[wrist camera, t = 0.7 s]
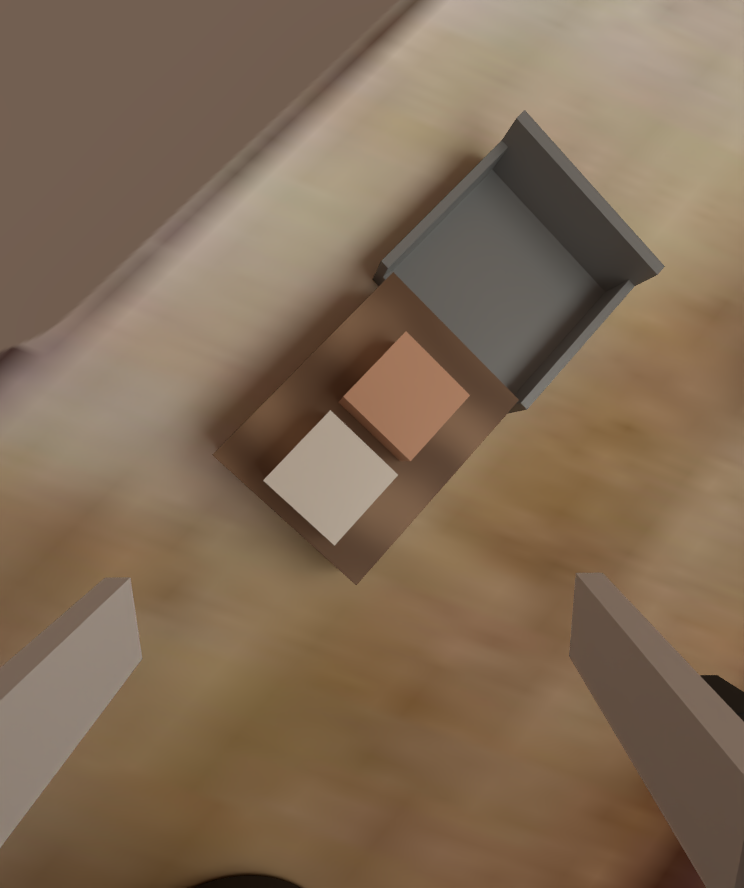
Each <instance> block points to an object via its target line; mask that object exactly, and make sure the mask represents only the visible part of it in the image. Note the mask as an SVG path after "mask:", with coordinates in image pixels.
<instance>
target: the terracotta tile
mask: <svg viewBox="0 0 744 888" xmlns="http://www.w3.org/2000/svg"><path fill="white" fill-rule="evenodd" d="M469 396H470V395H469V394H468V393H467V392H466V391H465V390H464V389H463V388H462V387H461V386H460V385H459V384H458V383H457V382H456V381H455V380H454V379H453V378H452V377H451V376H450V375H449V374H448V373H447V372H446V371H445V370H444V369H443V368H442V367H441V366H440V365H439V364H438V363H437V362H436V361H435V360H434V359H433V358H432V357H431V356H430V355H429V354H428V353H427V352H426V351H425V350H424V349H423V348H422V347H421V346H420V345H419V344H418V343H417V342H416V341H415V340H414V339H413V338H412V337H411V336H410V335H409V334H408V333H407V332H405V333H404V334H403V335H402V336H401V337H400V338H399V339H398V340H397V341H396V342H395V343H394V344H393V345H392V346H391V347H390V348H389V349H388V350H387V351H386V353H385V354H384V355H383V356H382V357H381V358H380V359H379V360H378V361H377V362H376V363H375V364H374V365H373V366H372V367H371V368H370V369H369V370H368V371H367V372H366V373H365V374H364V376H363V377H362V378H361V379H360V380H359V381H358V382H357V383H356V384H355V385H354V386H353V387H352V388H351V389H350V390H349V391H348V392H347V393H346V394H345V395H344V396H343V398H342V399H341V400H340V401H339V403H340V404H341V405H342V406H343V407H344V408H345V409H346V410H347V411H348V412H349V413H350V414H351V415H352V416H353V417H354V418H355V419H356V420H357V421H358V422H359V423H361V424H362V425H363V426H364V427H365V428H366V429H367V430H368V431H369V432H370V433H371V434H372V435H373V436H374V437H375V438H376V439H377V440H378V441H379V442H380V443H381V444H382V445H383V446H385V447H386V448H387V449H388V450H389V451H390V452H391V453H392V454H393V455H394V456H395V457H396V458H397V459H398V460H399V461H411V460H412V459H413V458H414V457H415V456H416V455H417V454H418V453H419V451H420V450H421V449H422V448H423V447H424V446H425V445H426V444H427V443H428V441H429V440H430V439H431V438H432V437H433V436H434V435H435V434H436V433H437V432H438V430H439V429H440V428H441V427H442V426H443V425H444V424H445V423H446V422H447V420H448V419H449V418H450V417H451V416H452V415H453V414H454V413H455V412H456V410H457V409H458V408H459V407H460V406H461V405H462V404H463V403H464V402H465V400H466V399H467V398H468V397H469Z"/></svg>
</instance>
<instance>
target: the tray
mask: <svg viewBox="0 0 744 888" xmlns="http://www.w3.org/2000/svg"><path fill="white" fill-rule="evenodd" d="M664 267H665V266H664V265H663V264H662V263H661V262H660V261H659V259H658V258H657V257H656V256H655V255H654V254H653V253H652V252H651V250H650V249H649V248H648V247H647V246H646V245H645V244H644V243H643V242H642V240H641V239H640V238H639V237H638V236H637V235H636V234H635V233H634V232H633V230H632V229H631V228H630V227H629V226H628V225H627V224H626V223H625V221H624V220H623V219H622V218H621V217H620V216H619V215H618V214H617V213H616V211H615V210H614V209H613V208H612V207H611V206H610V205H609V204H608V202H607V201H606V200H605V199H604V198H603V197H602V196H601V195H600V194H599V192H598V191H597V190H596V189H595V188H594V187H593V186H592V185H591V184H590V182H589V181H588V180H587V179H586V178H585V177H584V176H583V175H582V173H581V172H580V171H579V170H578V169H577V168H576V167H575V166H574V165H573V163H572V162H571V161H570V160H569V159H568V158H567V157H566V156H565V154H564V153H563V152H562V151H561V150H560V149H559V148H558V147H557V146H556V144H555V143H554V142H553V141H552V140H551V139H550V138H549V137H548V135H547V134H546V133H545V132H544V131H543V130H542V129H541V128H540V127H539V125H538V124H537V123H536V122H535V121H534V120H533V119H532V118H531V117H530V115H529V114H528V113H527V112H526V111H525V110H524V111H523V112H522V113H521V114H520V115H519V116H518V117H517V118H516V120H515V121H514V123H513V124H512V126H511V127H510V129H509V130H508V132H507V133H506V135H505V136H504V138H503V139H502V141H501V142H500V143H499V144H498V145H497V146H496V147H495V148H494V149H493V150H492V151H491V152H490V153H489V154H488V155H487V156H486V157H485V158H484V159H483V160H482V161H481V162H480V163H479V164H478V165H477V166H476V167H475V168H474V169H473V170H472V171H471V172H470V173H469V174H468V175H467V176H466V177H465V178H464V179H463V180H462V181H461V182H460V183H459V184H458V185H457V186H456V187H455V188H454V189H453V190H452V191H451V192H450V193H449V194H448V195H447V196H446V197H445V198H444V199H443V200H442V201H441V202H440V203H439V204H438V205H437V206H436V207H435V208H434V209H433V210H432V211H431V212H430V213H429V214H428V215H427V216H426V217H425V218H424V219H423V220H422V221H421V222H420V223H419V224H418V225H417V226H416V227H415V228H414V229H413V230H412V231H411V232H410V233H409V234H408V235H407V236H406V237H405V238H404V239H403V240H402V241H401V242H400V243H399V244H398V245H397V246H396V247H395V248H394V249H393V250H392V251H391V252H390V253H389V254H388V255H387V256H386V257H385V258H384V259H383V260H382V261H381V262H380V265H379V267H378V269H377V271H376V273H375V275H374V277H373V280H374V281H375V282H376V283H377V284H378V285H379V286H380V285H381V284H382V283H383V282H384V281H385V280H386V279H387V278H388V277H389V276H390V275H391V274H392V273H393V272H394V273H395V274H396V275H397V276H398V277H399V278H400V279H401V280H402V281H403V282H404V283H405V284H406V285H407V286H408V288H409V289H410V290H411V291H412V292H413V293H414V294H415V295H416V296H417V297H418V298H419V299H420V300H421V301H422V302H423V303H424V304H425V305H426V306H427V307H428V308H429V309H430V310H431V311H432V312H433V313H434V314H435V315H436V316H437V317H438V318H439V319H440V320H441V321H442V322H443V323H444V324H445V325H446V326H447V327H448V328H449V329H450V330H451V331H452V332H453V333H454V334H455V335H456V336H457V337H458V338H459V339H460V340H461V341H462V342H463V343H464V344H465V345H466V346H467V348H468V349H469V350H470V351H471V352H472V353H473V354H474V355H475V356H476V357H477V358H478V359H479V360H480V361H481V362H482V363H483V364H484V365H485V366H486V367H487V368H488V369H489V370H490V371H491V372H492V373H493V374H494V375H495V376H496V377H497V378H498V379H499V380H500V381H501V382H502V383H503V384H504V385H505V386H506V387H507V388H508V389H509V390H510V391H511V392H512V393H513V394H514V395H515V396H516V397H517V398H518V399H519V401H518V402H517V403H516V404H515V405H514V406H513V408H512V409H511V410H510V411H509V412H508V413H512V412H517V411H522V410H527V409H528V408H529V407H530V406H531V404H532V403H533V402H534V401H535V400H536V399H537V398H538V396H539V395H540V394H541V393H542V392H543V391H544V389H545V388H546V387H547V386H548V385H549V384H550V383H551V381H552V380H553V379H554V378H555V377H556V376H557V375H558V373H559V372H560V371H561V370H562V369H563V368H564V367H565V365H566V364H567V363H568V362H569V361H570V360H571V359H572V357H573V356H574V355H575V354H576V353H577V352H578V351H579V349H580V348H581V347H582V346H583V345H584V344H585V342H586V341H587V340H588V339H589V338H590V337H591V336H592V334H593V333H594V332H595V331H596V330H597V329H598V328H599V326H600V325H601V324H602V323H603V322H604V321H605V320H606V318H607V317H608V316H609V315H610V314H611V313H612V312H613V310H614V309H615V308H616V307H617V306H618V305H619V304H620V302H621V301H622V300H623V299H624V298H625V297H626V295H627V294H628V293H629V292H630V291H631V290H632V289H633V287H634V286H636V285H638V284H640V283H642V282H644V281H646V280H648V279H650V278H652V277H654V276H656V275H658V274H659V272H660V271H661V270H662V269H663V268H664Z"/></svg>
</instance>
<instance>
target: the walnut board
mask: <svg viewBox="0 0 744 888" xmlns="http://www.w3.org/2000/svg"><path fill="white" fill-rule="evenodd" d="M405 332H407V333H408V334H409V335H410V336H411V337H412V338H413V339H414V340H415V341H416V342H417V343H418V344H419V345H420V346H421V347H422V348H423V349H424V350H425V351H426V352H427V353H428V354H429V355H430V356H431V357H432V358H433V359H434V360H435V361H436V362H437V363H438V364H439V365H440V366H441V367H442V368H443V369H444V370H445V371H446V372H447V373H448V374H449V375H450V376H451V377H452V378H453V379H454V380H455V381H456V382H457V383H458V384H459V385H460V386H461V387H462V388H463V389H464V390H465V391H466V392H467V393H468V394H469V395H470V396H469V397H468V398H467V399H466V400H465V402H464V403H463V404H462V405H461V406H460V407H459V408H458V409H457V410H456V412H455V413H454V414H453V415H452V416H451V417H450V418H449V419H448V420H447V422H446V423H445V424H444V425H443V426H442V427H441V428H440V429H439V430H438V432H437V433H436V434H435V435H434V436H433V437H432V438H431V439H430V440H429V441H428V443H427V444H426V445H425V446H424V447H423V448H422V449H421V450H420V451H419V453H418V454H417V455H416V456H415V457H414V458H413V459H412V460H411V461H399V460H398V459H397V458H396V457H395V456H394V455H393V454H392V453H391V452H390V451H389V450H388V449H387V448H386V447H385V446H383V445H382V444H381V443H380V442H379V441H378V440H377V439H376V438H375V437H374V436H373V435H372V434H371V433H370V432H369V431H368V430H367V429H366V428H365V427H364V426H363V425H362V424H361V423H359V422H358V421H357V420H356V419H355V418H354V417H353V416H352V415H351V414H350V413H349V412H348V411H347V410H346V409H345V408H344V407H343V406H342V405H341V404H340V403H339V401H340V400H341V399H342V398H343V396H344V395H345V394H346V393H347V392H348V391H349V390H350V389H351V388H352V387H353V386H354V385H355V384H356V383H357V382H358V381H359V380H360V379H361V378H362V377H363V376H364V374H365V373H366V372H367V371H368V370H369V369H370V368H371V367H372V366H373V365H374V364H375V363H376V362H377V361H378V360H379V359H380V358H381V357H382V356H383V355H384V354H385V353H386V351H387V350H388V349H389V348H390V347H391V346H392V345H393V344H394V343H395V342H396V341H397V340H398V339H399V338H400V337H401V336H402V335H403V334H404V333H405ZM518 401H519V399H518V398H517V397H516V396H515V395H514V394H513V393H512V392H511V391H510V390H509V389H508V388H507V387H506V386H505V385H504V384H503V383H502V382H501V381H500V380H499V379H498V378H497V377H496V376H495V375H494V374H493V373H492V372H491V371H490V370H489V369H488V368H487V367H486V366H485V365H484V364H483V363H482V362H481V361H480V360H479V359H478V358H477V357H476V356H475V355H474V354H473V353H472V352H471V351H470V350H469V349H468V348H467V346H466V345H465V344H464V343H463V342H462V341H461V340H460V339H459V338H458V337H457V336H456V335H455V334H454V333H453V332H452V331H451V330H450V329H449V328H448V327H447V326H446V325H445V324H444V323H443V322H442V321H441V320H440V319H439V318H438V317H437V316H436V315H435V314H434V313H433V312H432V311H431V310H430V309H429V308H428V307H427V306H426V305H425V304H424V303H423V302H422V301H421V300H420V299H419V298H418V297H417V296H416V295H415V294H414V293H413V292H412V291H411V290H410V289H409V288H408V286H407V285H406V284H405V283H404V282H403V281H402V280H401V279H400V278H399V277H398V276H397V275H396V274H395V273H394V272H393V273H392V274H391V275H390V276H389V277H388V278H387V279H386V280H385V281H384V282H383V283H382V284H381V285H380V286H379V287H378V288H377V289H376V290H375V291H374V292H373V293H372V294H371V295H370V296H369V297H368V298H367V299H366V300H365V301H364V302H363V303H362V304H361V305H360V306H359V307H358V308H357V309H356V310H355V311H354V312H353V313H352V314H351V315H350V316H349V317H348V318H347V319H346V320H345V321H344V322H343V323H342V324H341V325H340V326H339V327H338V328H337V329H336V330H335V331H334V332H333V333H332V334H331V335H330V336H329V337H328V338H327V339H326V340H325V341H324V342H323V343H322V344H321V345H320V346H319V347H318V348H317V349H316V350H315V351H314V352H313V354H312V355H311V356H310V357H309V358H308V359H307V360H306V361H305V362H304V363H303V364H302V365H301V366H300V367H299V368H298V369H297V370H296V371H295V372H294V373H293V374H292V375H291V376H290V377H289V378H288V379H287V380H286V381H285V382H284V383H283V384H282V385H281V386H280V387H279V388H278V389H277V390H276V391H275V392H274V393H273V394H272V395H271V396H270V397H269V398H268V399H267V400H266V401H265V402H264V403H263V404H262V405H261V406H260V407H259V408H258V409H257V410H256V411H255V412H254V413H253V414H252V415H251V416H250V417H249V418H248V419H247V420H246V421H245V422H244V423H243V424H242V425H241V426H240V427H239V428H238V429H237V430H236V431H235V432H234V433H233V434H232V435H231V436H230V437H229V438H228V439H227V440H226V441H225V442H224V444H223V445H222V446H221V447H220V448H219V449H218V450H217V451H216V452H215V453H214V454H213V456H214V457H215V458H216V459H217V460H218V461H220V462H221V463H222V464H223V465H224V466H225V467H226V468H227V469H228V470H230V471H231V472H232V473H233V474H234V475H235V476H236V477H237V478H238V479H239V480H241V481H242V482H243V483H244V484H245V485H246V486H247V487H248V488H249V489H250V490H252V491H253V492H254V493H255V494H256V495H257V496H258V497H259V498H260V499H262V500H263V501H264V502H265V503H266V504H267V505H268V506H269V507H270V508H271V509H273V510H274V511H275V512H276V513H277V514H278V515H279V516H280V517H281V518H283V519H284V520H285V521H286V522H287V523H288V524H289V525H290V526H291V527H292V528H294V529H295V530H296V531H297V532H298V533H299V534H300V535H301V536H302V537H304V538H305V539H306V540H307V541H308V542H309V543H310V544H311V545H312V546H313V547H315V548H316V549H317V550H318V551H319V552H320V553H321V554H322V555H323V556H325V557H326V558H327V559H328V560H329V561H330V562H331V563H332V564H333V565H334V566H336V567H337V568H338V569H339V570H340V571H341V572H342V573H343V574H344V575H345V576H347V577H348V578H349V579H350V580H351V581H352V582H353V583H354V584H355V585H357V584H358V583H359V582H360V580H361V579H362V578H363V577H364V576H365V575H366V574H367V573H368V571H369V570H370V569H371V568H372V567H373V566H374V565H375V563H376V562H377V561H378V560H379V559H380V558H381V557H382V555H383V554H384V553H385V552H386V551H387V550H388V549H389V547H390V546H391V545H392V544H393V543H394V542H395V541H396V540H397V538H398V537H399V536H400V535H401V534H402V533H403V532H404V530H405V529H406V528H407V527H408V526H409V525H410V524H411V522H412V521H413V520H414V519H415V518H416V517H417V516H418V515H419V513H420V512H421V511H422V510H423V509H424V508H425V507H426V505H427V504H428V503H429V502H430V501H431V500H432V499H433V497H434V496H435V495H436V494H437V493H438V492H439V491H440V489H441V488H442V487H443V486H444V485H445V484H446V483H447V482H448V480H449V479H450V478H451V477H452V476H453V475H454V474H455V472H456V471H457V470H458V469H459V468H460V467H461V466H462V464H463V463H464V462H465V461H466V460H467V459H468V458H469V457H470V455H471V454H472V453H473V452H474V451H475V450H476V449H477V447H478V446H479V445H480V444H481V443H482V442H483V441H484V439H485V438H486V437H487V436H488V435H489V434H490V433H491V432H492V430H493V429H494V428H495V427H496V426H497V425H498V424H499V422H500V421H501V420H502V419H503V418H504V417H505V416H506V414H507V413H508V412H509V411H510V410H511V409H512V408H513V406H514V405H515V404H516V403H517V402H518ZM330 410H331V411H332V412H333V413H334V414H335V415H336V416H337V417H338V418H339V419H340V420H341V421H342V422H343V423H344V424H345V425H346V426H347V427H349V428H350V429H351V430H352V431H353V432H354V433H355V434H356V435H357V436H358V437H359V438H360V439H361V440H362V441H363V442H364V443H365V444H366V445H367V446H368V447H370V448H371V449H372V450H373V451H374V452H375V453H376V454H377V455H378V456H379V457H380V458H381V459H382V460H383V461H384V462H385V463H386V464H387V465H388V466H389V467H391V468H392V469H393V470H394V471H395V472H396V473H397V474H398V476H397V477H396V478H395V479H394V480H393V481H392V482H391V484H390V485H389V486H388V487H387V488H386V489H385V490H384V491H383V492H382V494H381V495H380V496H379V497H378V498H377V499H376V500H375V501H374V502H373V504H372V505H371V506H370V507H369V508H368V509H367V510H366V511H365V512H364V514H363V515H362V516H361V517H360V518H359V519H358V520H357V521H356V522H355V523H354V525H353V526H352V527H351V528H350V529H349V530H348V531H347V532H346V533H345V535H344V536H343V537H342V538H341V539H340V540H339V541H338V542H337V543H336V545H335V546H334V545H333V544H332V543H331V542H330V541H329V540H328V539H327V538H326V537H325V536H323V535H322V534H321V533H320V532H319V531H318V530H317V529H316V528H315V527H314V526H312V525H311V524H310V523H309V522H308V521H307V520H306V519H305V518H304V517H303V516H302V515H300V514H299V513H298V512H297V511H296V510H295V509H294V508H293V507H292V506H291V505H289V504H288V503H287V502H286V501H285V500H284V499H283V498H282V497H281V496H280V495H278V494H277V493H276V492H275V491H274V490H273V489H272V488H271V487H270V486H269V485H267V484H266V483H265V482H264V481H263V480H264V479H265V478H266V477H267V476H268V475H269V474H270V473H271V472H272V471H273V470H274V469H275V467H276V466H277V465H278V464H279V463H280V462H281V461H282V460H283V459H284V458H285V457H286V456H287V455H288V454H289V453H290V452H291V451H292V450H293V449H294V448H295V447H296V446H297V444H298V443H299V442H300V441H301V440H302V439H303V438H304V437H305V436H306V435H307V434H308V433H309V432H310V431H311V430H312V429H313V428H314V427H315V426H316V425H317V424H318V423H319V421H320V420H321V419H322V418H323V417H324V416H325V415H326V414H327V413H328V412H329V411H330Z"/></svg>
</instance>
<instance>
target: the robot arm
mask: <svg viewBox="0 0 744 888" xmlns="http://www.w3.org/2000/svg"><path fill="white" fill-rule="evenodd" d="M569 657H570V658H571V660H572V662H573V664H574V665H575V667H576V669H577V670H578V672H579V674H580V675H581V677H582V679H583V680H584V682H585V684H586V685H587V687H588V689H589V690H590V692H591V694H592V696H593V697H594V699H595V701H596V702H597V704H598V706H599V707H600V709H601V711H602V712H603V714H604V716H605V717H606V719H607V721H608V723H609V724H610V726H611V728H612V729H613V731H614V733H615V734H616V736H617V738H618V739H619V741H620V743H621V744H622V746H623V748H624V750H625V751H626V753H627V755H628V756H629V758H630V760H631V761H632V763H633V765H634V766H635V768H636V770H637V771H638V773H639V775H640V776H641V778H642V780H643V782H644V783H645V785H646V787H647V788H648V790H649V792H650V793H651V795H652V797H653V798H654V800H655V802H656V803H657V805H658V807H659V809H660V810H661V812H662V814H663V815H664V817H665V819H666V820H667V822H668V824H669V825H670V827H671V829H672V830H673V832H674V834H675V836H676V837H677V839H678V841H679V842H680V844H681V846H682V847H683V849H684V851H685V852H686V854H687V856H688V857H689V859H690V861H691V862H692V864H693V866H694V868H695V869H696V871H697V873H698V874H699V876H700V878H701V879H702V881H703V883H704V884H705V886H706V888H744V692H743V691H741V690H740V689H738V688H736V687H735V686H733V685H732V684H730V683H728V682H727V681H725V680H724V679H722V678H721V677H719V676H717V675H699V674H698V673H697V672H696V671H695V670H694V669H693V668H692V667H691V666H690V665H689V664H688V662H687V661H686V660H685V659H684V658H683V657H682V656H681V655H680V654H679V653H678V652H677V651H676V650H675V649H674V648H673V647H672V646H671V645H670V643H669V642H668V641H667V640H666V639H665V638H664V637H663V636H662V635H661V634H660V633H659V632H658V631H657V630H656V629H655V628H654V627H653V626H652V625H651V623H650V622H649V621H648V620H647V619H646V618H645V617H644V616H643V615H642V614H641V613H640V612H639V611H638V610H637V609H636V608H635V607H634V606H633V604H632V603H631V602H630V601H629V600H628V599H627V598H626V597H625V596H624V595H623V594H622V593H621V592H620V591H619V590H618V589H617V588H616V587H615V585H614V584H613V583H612V582H611V581H610V580H609V579H608V578H607V577H606V576H605V575H604V574H603V573H576V578H575V590H574V603H573V615H572V628H571V640H570V653H569ZM141 660H142V653H141V647H140V640H139V633H138V626H137V619H136V613H135V606H134V599H133V592H132V586H131V579H130V578H104V579H103V580H102V581H101V582H100V583H98V584H97V585H96V586H95V587H94V588H93V589H91V590H90V591H89V592H88V593H87V594H86V595H84V596H83V597H82V598H81V599H80V600H79V601H77V602H76V603H75V604H74V605H73V606H72V607H71V608H69V609H68V610H67V611H66V612H65V613H64V614H62V615H61V616H60V617H59V618H58V619H57V620H55V621H54V622H53V623H52V624H51V625H50V626H48V627H47V628H46V629H45V630H44V631H43V632H41V633H40V634H39V635H38V636H37V637H36V638H34V639H33V640H32V641H31V642H30V643H29V644H27V645H26V646H25V647H24V648H23V649H22V650H21V651H19V652H18V653H17V654H16V655H15V656H14V657H12V658H11V659H10V660H9V661H8V662H7V663H5V664H4V665H3V666H2V667H1V668H0V848H1V846H2V845H3V844H4V842H5V841H6V840H7V838H8V837H9V836H10V834H11V833H12V832H13V830H14V829H15V828H16V826H17V825H18V824H19V822H20V821H21V820H22V818H23V817H24V816H25V814H26V813H27V812H28V810H29V809H30V808H31V806H32V805H33V804H34V802H35V801H36V800H37V798H38V797H39V796H40V794H41V793H42V792H43V790H44V789H45V788H46V786H47V785H48V784H49V782H50V781H51V780H52V778H53V777H54V776H55V774H56V773H57V772H58V770H59V769H60V768H61V766H62V765H63V764H64V762H65V761H66V760H67V758H68V757H69V756H70V754H71V753H72V752H73V750H74V749H75V748H76V746H77V745H78V744H79V742H80V741H81V740H82V738H83V737H84V736H85V734H86V733H87V732H88V730H89V729H90V728H91V726H92V725H93V724H94V722H95V721H96V720H97V718H98V717H99V716H100V714H101V713H102V712H103V710H104V709H105V708H106V706H107V705H108V704H109V702H110V701H111V700H112V698H113V697H114V696H115V694H116V693H117V692H118V690H119V689H120V688H121V686H122V685H123V684H124V682H125V681H126V680H127V678H128V677H129V676H130V674H131V673H132V672H133V670H134V669H135V668H136V666H137V665H138V664H139V662H140V661H141ZM195 888H300V887H297V886H295V885H293V884H291V883H288V882H286V881H282V880H279V879H275V878H270V877H263V876H237V877H229V878H224V879H219V880H215V881H212V882H209V883H206V884H203V885H200V886H198V887H195Z"/></svg>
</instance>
